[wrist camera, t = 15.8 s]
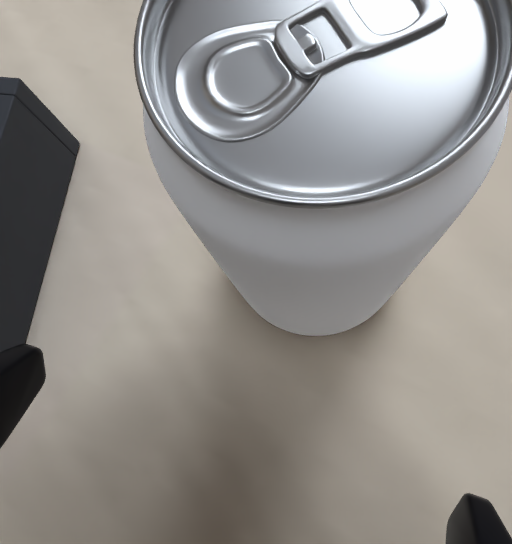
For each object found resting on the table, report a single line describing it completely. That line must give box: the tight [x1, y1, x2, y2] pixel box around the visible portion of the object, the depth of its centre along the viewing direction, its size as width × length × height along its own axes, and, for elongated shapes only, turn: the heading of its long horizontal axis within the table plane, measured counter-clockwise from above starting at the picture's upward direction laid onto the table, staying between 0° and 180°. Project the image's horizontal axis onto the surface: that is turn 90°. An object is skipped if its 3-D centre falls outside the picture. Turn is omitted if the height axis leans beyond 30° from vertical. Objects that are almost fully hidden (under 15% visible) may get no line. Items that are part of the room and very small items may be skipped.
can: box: [134, 0, 512, 336], centre depth 13 cm, size 6×6×12 cm
